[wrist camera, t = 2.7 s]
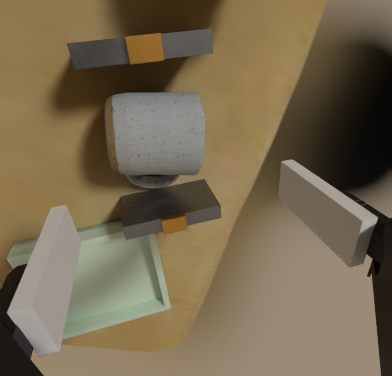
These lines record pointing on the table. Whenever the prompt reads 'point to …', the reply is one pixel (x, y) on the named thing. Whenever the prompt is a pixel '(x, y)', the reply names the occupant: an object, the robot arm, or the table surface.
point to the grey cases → (168, 196)
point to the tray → (109, 278)
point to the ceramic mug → (155, 136)
